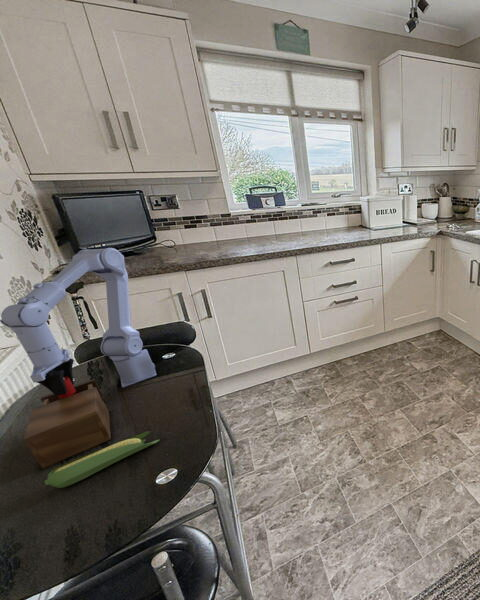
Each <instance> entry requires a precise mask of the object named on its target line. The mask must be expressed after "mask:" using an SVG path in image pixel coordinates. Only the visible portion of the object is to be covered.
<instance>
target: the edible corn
mask: <svg viewBox="0 0 480 600" xmlns="http://www.w3.org/2000/svg"><path fill="white" fill-rule="evenodd" d="M151 432H152V430H150V431H144V432H142V433H139V434H137V435H134V436H131V437H129V438H126V439H123V440H121V441H118V442H115V443H113V444H110V445H107V446H105V447H102V448H100V449H97V450H95V451H92V452H90V453H89V452H88V453H87V454H85V455H82V456H79V457H77V458H75V459H72V460H69V461H67V462H64V463H63V464H61V465H58V466H57V467H55V468H54V469H52V470H51V471H50V472H49V473H48V474H47V478H46V479H44V484H45V485H46V486H51V487H53V488H56V489H63V488H67V487H70V486H72V485H75V484H76V483H79V482H81V481H83V480H84V479H87V478H89V477H91V476H92V475H95V474H96V473H99V472H100V471H102V470H105V469H106V468H108V467H110V466H112V465H114V464H116V463H118V462H120V461H122V460H124V459H126V458H128V457H129V456H132V455H134V454H136V453H138V452H140V451H142V450H144V449H147V448H148V447H150V446H153V445H155V444H157V443H158V442H160V441H161V439H155V440H153V441H150V442H147V443H145V442H146V439H144V438H145V437H146V436H148V435H149V434H150V433H151Z"/></svg>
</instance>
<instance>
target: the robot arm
mask: <svg viewBox="0 0 480 600" xmlns="http://www.w3.org/2000/svg"><path fill="white" fill-rule="evenodd" d="M125 262H126V261H125V256H124V254H122V252H120V251H119V250H117V249H116V248H114V247H106V248H94V249H84V248H83V249H81V250H79V251H78V252H77V253H76V254H74V255H72V260H70V262H68V264H66V266H65V267H64V268H62V270H61V271H60V272H59V273H58V274H56V275H55V276H54V277H53V278H52V280H50V281H42V282H39V283H35V284H33V286H32V288H33V289H32V290H30V291H29V292H28V293H26V295H24V296H23V297H20V298H19V299H17V303H15V304H10V305H8V306H6V307H5V308H4V309H3V310H2V312H1V315H0V316H1V319H0V323H1V324H2V325H3V326H4V327H7V328H10V329H11V330H12V332H13V333H14V334H15V336H16V337H17V339H18V341H19V342H20V345H21V346H22V347H23V349H24V351H25V353H26V355H27V356H28V358H29V360H30V362H31V363H32V365H33V368H32V372H31V374H30V375H29V377H30V379H31V381H32V383H37V384H39V385H41V386H43V387H45V388H46V389H47V390H49V391H50V392H51V393H54V394H55V395H56V396H59V395H63V394H66V393H67V388H66V385H65V383H64V378H63V377H69V379H70V380H71V382H72V384H73V386H75V383H74V376H73V374H74V373H73V366H74V359H73V358H72V357H71V356H70V355H71V354H70V352H69V350H68V349H67V348H65V349H61V348H60V346H59V344H58V341H56V338H55V337H54V335H53V332H52V330H51V329H50V327H49V325H48V323H47V321H48V320H49V316H50V312H51V310H52V309H53V308H55V306H57V305H58V304H59V303H60V301H62V300H63V299H64V298H65V297H66V296H67V291H66V290H67V288H69V287H70V286H71V285H73V284H74V283H75V282H76V281H78V280H79V279H80V278H81V277H82V276H84V275H85V274H86V273H88V272H90V273H94V274H95V275H98V276H100V277H101V278H102V279H104V280H105V289H106V290H105V291H106V304H107V305H106V306H107V318H108V329H107V330H106V331H104V333H103V334H102V341H101V344H100V352H101V353H102V355H104V356H105V357H109V360H112V362H113V365H114V367H115V369H116V372H117V373H118V375H119V377H120V385H121V388H126V387H130V386H132V385H134V384H137V383H140V382H142V381H146V380H147V379H151V378H154V377H156V376H157V371H156V365H155V363H153V361H152V359H151V356H150V354H149V351H148V349H147V348H146V349H145V348H144V349H143V346H144V344H143V341H142V338H141V336H140V331H138V330H137V329H136V328H134V327H132V321H131V304H130V290H129V287H130V286H129V275H128V271H127V269H126V264H125Z"/></svg>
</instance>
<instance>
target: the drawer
mask: <svg viewBox="0 0 480 600" xmlns="http://www.w3.org/2000/svg"><path fill="white" fill-rule="evenodd" d="M73 386H74V388H75V390H76V392H75V393H74V394H77V393H80V392H83V391H86V390H88V389H91V388H94V387H96V388H97V390H98V392H99V394H100V396H101V398H102V400H103V402H104V401H106V400H105V397H104V394H103V393H102V391H101V389H100V387H99V385H98V383H97V380H96V379H95V378H92V379H90V380H87V381H84V382H80V383H78V384H74V385H73ZM74 394H73V395H74ZM68 397H69V396H68ZM60 399H63V398H58V396H56V395H55V394H54V393H53V392H51V393H49V394H46V395H43V396H40V401H41V402H42V406H43V405H46V404H49V403H52V402H54V401H57V400H60Z"/></svg>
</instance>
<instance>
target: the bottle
mask: <svg viewBox="0 0 480 600" xmlns="http://www.w3.org/2000/svg"><path fill="white" fill-rule="evenodd" d="M63 378H64V383H65V385H66V388H67V393H66V394H63V395H59V396H58V398H66V397H68V396H71V395H73V394H74V393H75V392H76V390H75V388H74V386H75V385H73V384H72V382H71V380H70V379H69V377H63Z"/></svg>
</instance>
